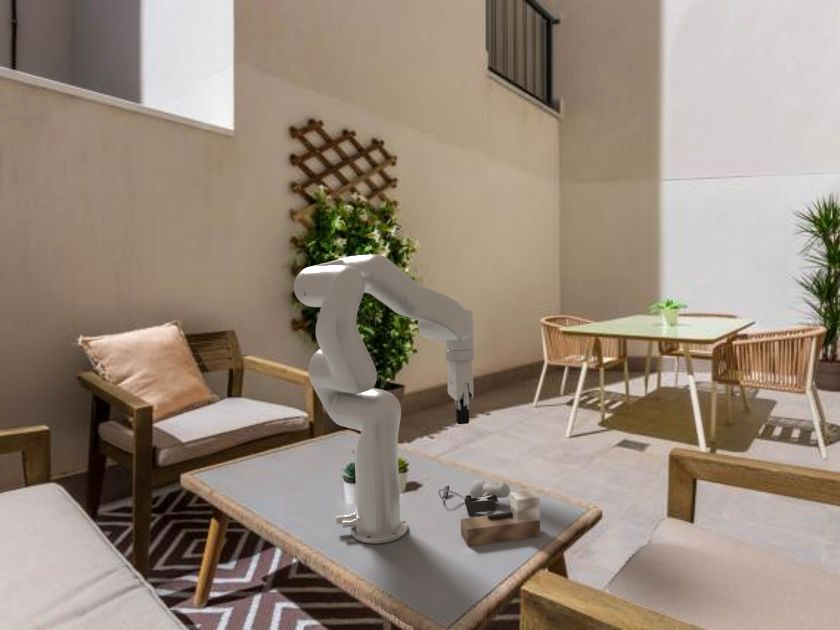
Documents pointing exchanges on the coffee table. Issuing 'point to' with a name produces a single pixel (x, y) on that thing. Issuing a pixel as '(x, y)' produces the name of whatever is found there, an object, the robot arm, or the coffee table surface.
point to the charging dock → (505, 522)
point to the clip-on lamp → (481, 496)
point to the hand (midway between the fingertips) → (462, 423)
